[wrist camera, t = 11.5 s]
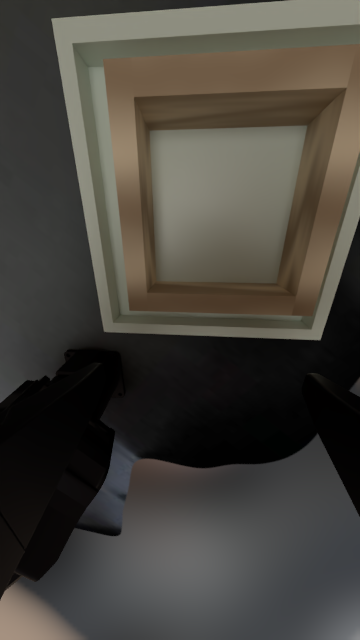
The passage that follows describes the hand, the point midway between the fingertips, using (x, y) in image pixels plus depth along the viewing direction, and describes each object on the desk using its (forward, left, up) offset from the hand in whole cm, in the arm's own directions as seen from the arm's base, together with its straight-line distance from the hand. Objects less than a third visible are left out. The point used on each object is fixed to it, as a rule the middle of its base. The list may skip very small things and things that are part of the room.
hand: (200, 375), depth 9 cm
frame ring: (+7, -1, -11) cm, 14 cm away
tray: (+7, -1, -12) cm, 14 cm away
